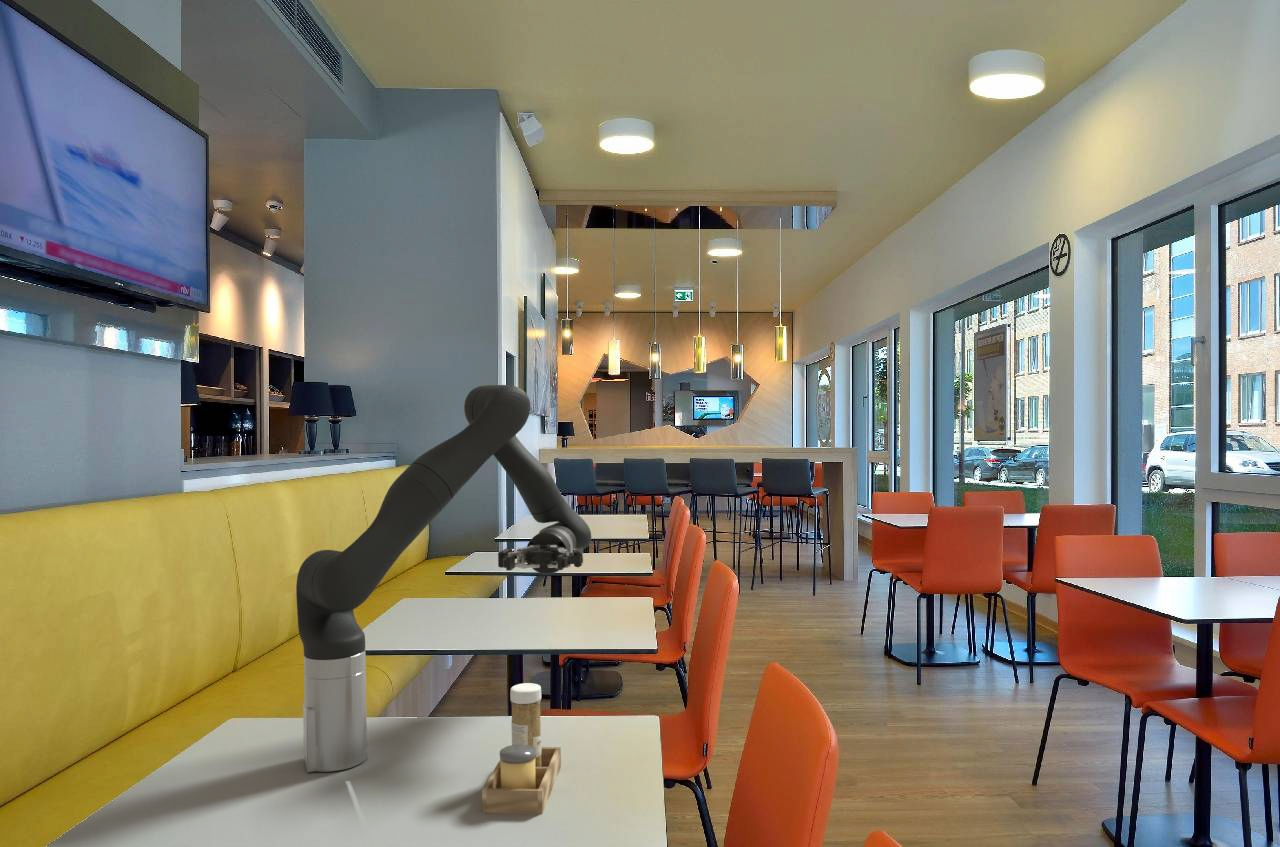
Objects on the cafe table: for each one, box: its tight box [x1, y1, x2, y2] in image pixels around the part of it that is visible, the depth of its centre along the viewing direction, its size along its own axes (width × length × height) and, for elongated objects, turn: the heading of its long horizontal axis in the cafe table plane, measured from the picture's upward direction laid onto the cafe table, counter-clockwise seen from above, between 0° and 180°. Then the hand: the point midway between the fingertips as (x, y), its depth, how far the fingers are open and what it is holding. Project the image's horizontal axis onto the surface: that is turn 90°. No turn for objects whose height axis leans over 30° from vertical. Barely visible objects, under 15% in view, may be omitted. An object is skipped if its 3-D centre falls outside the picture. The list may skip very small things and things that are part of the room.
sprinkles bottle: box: [509, 682, 542, 767], centre depth 128 cm, size 5×5×14 cm
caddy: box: [481, 746, 562, 815], centre depth 124 cm, size 16×8×4 cm, turn 176°
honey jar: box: [499, 744, 536, 789], centre depth 120 cm, size 5×5×7 cm
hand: (533, 564), depth 142 cm, fingers open, 8 cm apart
